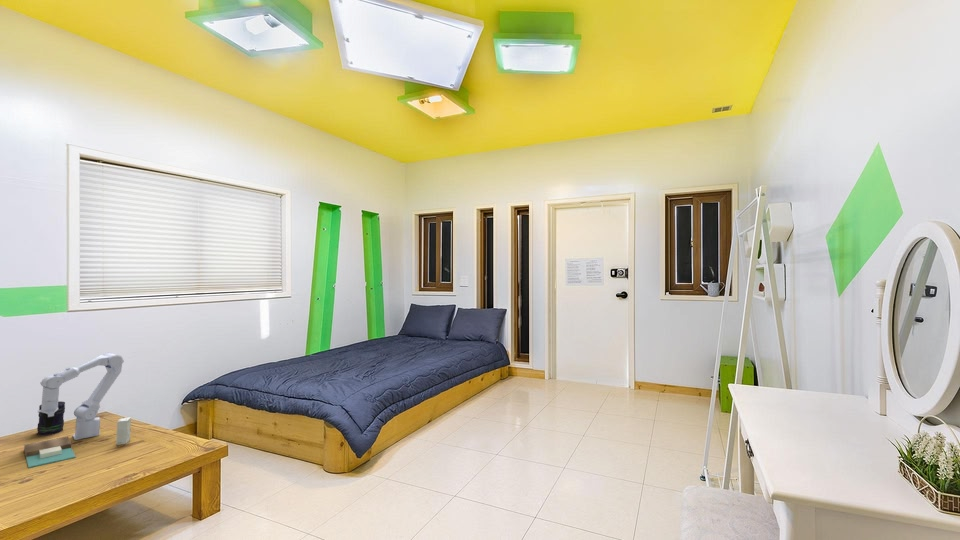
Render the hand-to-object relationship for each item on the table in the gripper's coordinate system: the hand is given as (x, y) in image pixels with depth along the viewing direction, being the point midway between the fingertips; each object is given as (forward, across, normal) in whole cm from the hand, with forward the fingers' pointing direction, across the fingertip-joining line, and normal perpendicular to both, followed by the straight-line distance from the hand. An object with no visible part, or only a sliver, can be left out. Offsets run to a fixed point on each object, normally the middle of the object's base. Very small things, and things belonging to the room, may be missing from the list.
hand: (48, 427), depth 203 cm
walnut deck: (+9, +5, 0) cm, 11 cm away
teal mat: (+9, +18, 0) cm, 20 cm away
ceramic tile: (+9, +14, 0) cm, 17 cm away
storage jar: (+10, -22, +3) cm, 24 cm away
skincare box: (+10, +18, +26) cm, 33 cm away
